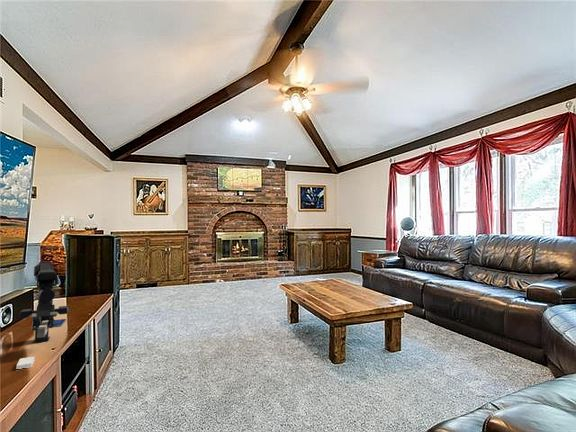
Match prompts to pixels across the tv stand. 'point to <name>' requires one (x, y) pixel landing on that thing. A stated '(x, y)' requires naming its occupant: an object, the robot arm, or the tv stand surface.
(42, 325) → the curved white panel
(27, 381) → the tv stand surface
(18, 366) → the tile
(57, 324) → the smartphone
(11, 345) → the tv stand surface
